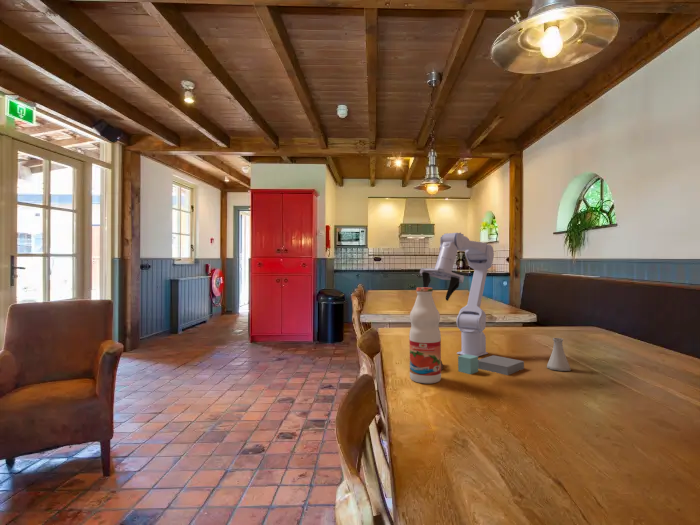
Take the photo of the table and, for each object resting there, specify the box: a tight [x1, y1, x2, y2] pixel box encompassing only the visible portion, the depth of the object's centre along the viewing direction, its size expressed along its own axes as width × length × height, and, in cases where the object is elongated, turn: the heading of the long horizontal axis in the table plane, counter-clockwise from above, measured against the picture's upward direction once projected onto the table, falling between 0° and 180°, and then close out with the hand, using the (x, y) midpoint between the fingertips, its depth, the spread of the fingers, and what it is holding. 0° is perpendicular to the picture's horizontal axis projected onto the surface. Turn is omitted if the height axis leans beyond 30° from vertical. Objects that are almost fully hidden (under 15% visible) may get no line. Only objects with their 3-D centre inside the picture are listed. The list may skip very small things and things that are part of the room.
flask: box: [546, 337, 571, 372], centre depth 124 cm, size 7×7×10 cm
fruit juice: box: [408, 286, 442, 384], centre depth 114 cm, size 9×9×28 cm
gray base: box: [478, 354, 525, 376], centre depth 125 cm, size 11×11×3 cm
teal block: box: [457, 354, 479, 375], centre depth 121 cm, size 4×4×5 cm
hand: (435, 296), depth 123 cm, fingers open, 7 cm apart
